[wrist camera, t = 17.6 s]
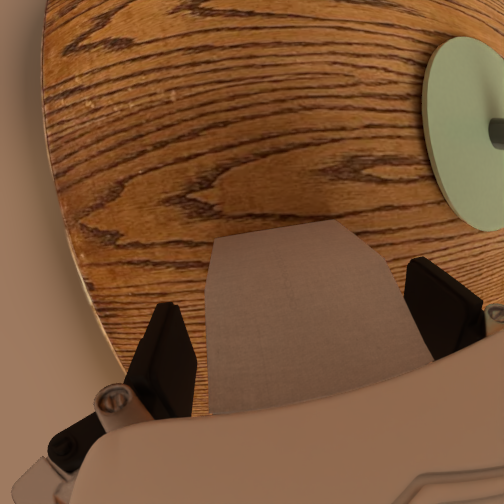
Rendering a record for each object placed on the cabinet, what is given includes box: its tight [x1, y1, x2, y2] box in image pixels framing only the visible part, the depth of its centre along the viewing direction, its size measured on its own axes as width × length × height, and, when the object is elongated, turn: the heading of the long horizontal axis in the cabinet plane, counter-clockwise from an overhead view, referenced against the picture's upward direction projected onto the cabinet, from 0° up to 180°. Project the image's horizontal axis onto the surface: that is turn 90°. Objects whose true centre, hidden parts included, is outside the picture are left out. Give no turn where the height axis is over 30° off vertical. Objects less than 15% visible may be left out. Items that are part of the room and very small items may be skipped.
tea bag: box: [205, 219, 434, 415], centre depth 11 cm, size 4×7×10 cm, turn 99°
